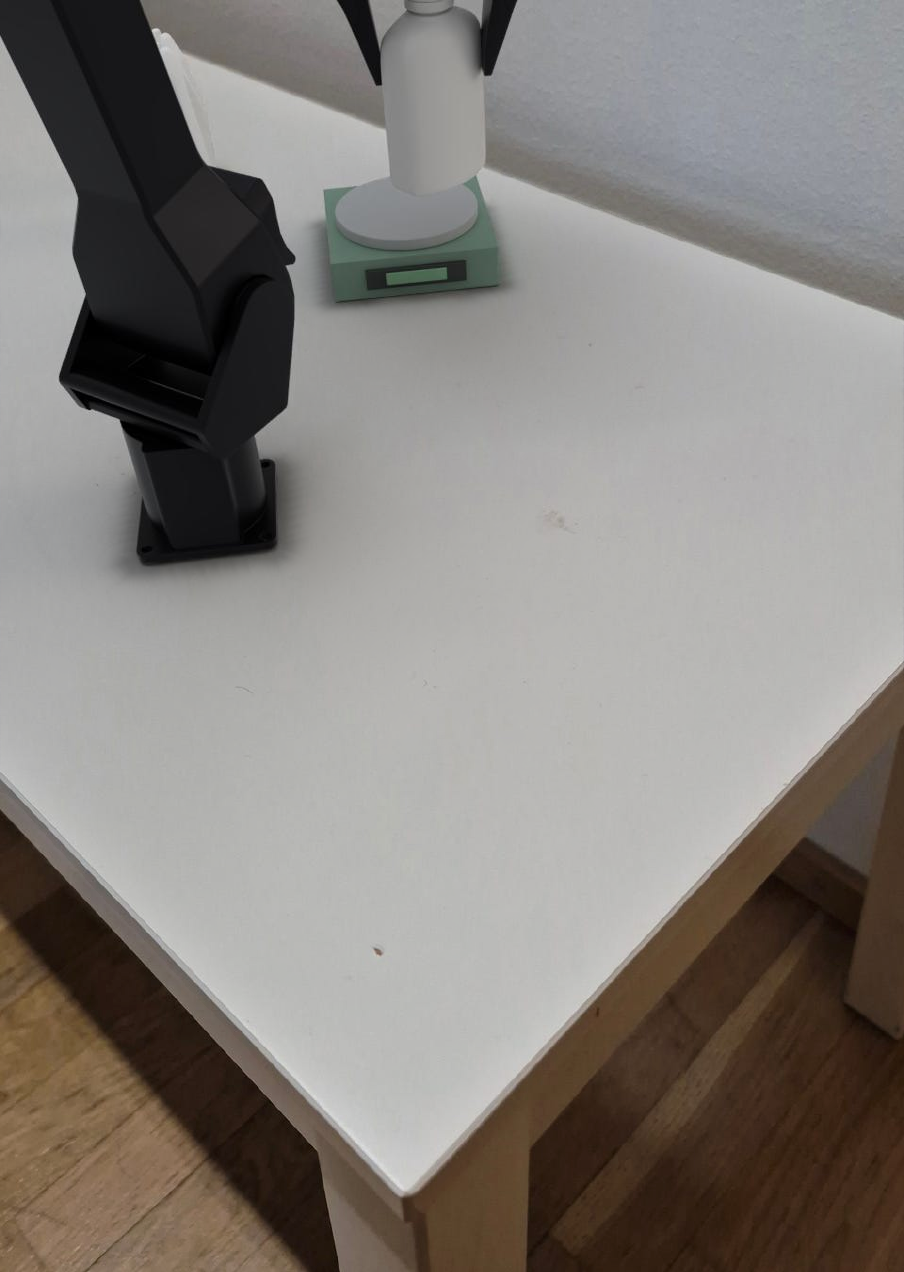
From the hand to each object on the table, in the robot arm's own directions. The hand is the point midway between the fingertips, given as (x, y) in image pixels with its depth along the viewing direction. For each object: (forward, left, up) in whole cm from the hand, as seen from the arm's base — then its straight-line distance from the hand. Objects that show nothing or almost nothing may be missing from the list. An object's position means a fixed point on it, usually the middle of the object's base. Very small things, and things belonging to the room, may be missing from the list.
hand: (433, 78), depth 59 cm
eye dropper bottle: (0, 0, -5) cm, 5 cm away
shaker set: (+17, +16, -13) cm, 27 cm away
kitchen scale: (+7, +2, -13) cm, 15 cm away
